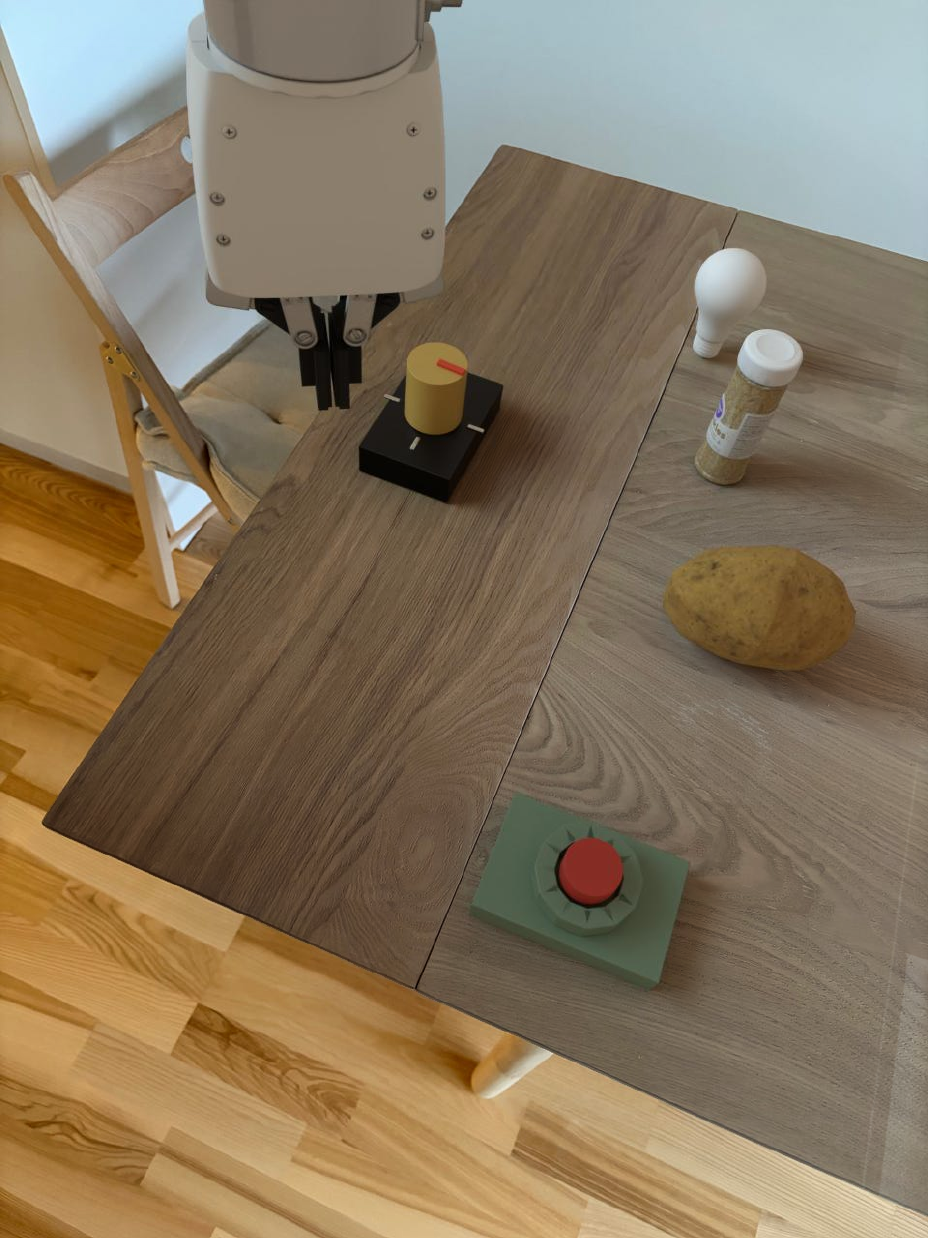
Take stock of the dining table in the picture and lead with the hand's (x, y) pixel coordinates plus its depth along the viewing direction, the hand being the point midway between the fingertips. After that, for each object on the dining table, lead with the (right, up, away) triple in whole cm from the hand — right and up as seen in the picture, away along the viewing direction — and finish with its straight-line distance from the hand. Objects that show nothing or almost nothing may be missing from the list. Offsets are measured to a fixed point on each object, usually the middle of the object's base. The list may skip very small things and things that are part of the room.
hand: (331, 389), depth 48 cm
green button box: (+14, -29, +12) cm, 35 cm away
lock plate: (+4, +4, +33) cm, 33 cm away
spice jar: (+29, +1, +34) cm, 45 cm away
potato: (+28, -13, +24) cm, 39 cm away
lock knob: (+4, +5, +30) cm, 31 cm away
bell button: (+14, -27, +9) cm, 32 cm away
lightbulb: (+30, +13, +42) cm, 53 cm away
